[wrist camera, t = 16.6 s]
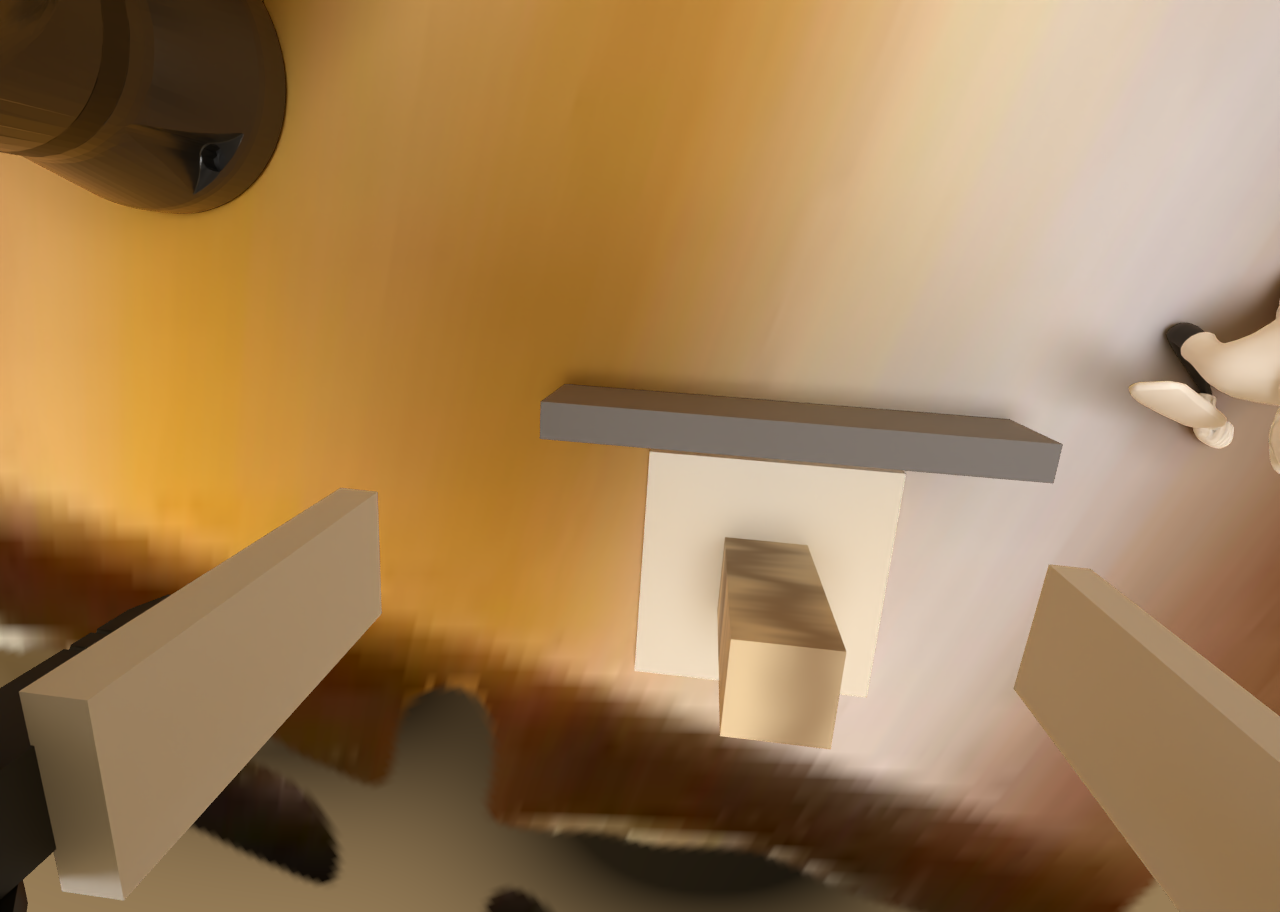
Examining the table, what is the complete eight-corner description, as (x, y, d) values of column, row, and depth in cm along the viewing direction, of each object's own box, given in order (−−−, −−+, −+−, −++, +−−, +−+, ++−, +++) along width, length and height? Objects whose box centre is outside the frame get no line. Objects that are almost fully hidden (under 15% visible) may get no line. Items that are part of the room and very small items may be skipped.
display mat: (636, 662, 45) (634, 670, 44) (651, 447, 41) (649, 451, 40) (863, 688, 44) (866, 697, 43) (901, 469, 40) (906, 473, 39)
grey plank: (563, 416, 41) (539, 438, 35) (565, 383, 40) (540, 401, 35) (1002, 452, 39) (1053, 483, 33) (1009, 419, 38) (1062, 444, 32)
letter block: (717, 613, 42) (719, 739, 31) (724, 536, 41) (730, 639, 29) (796, 621, 42) (830, 753, 30) (807, 545, 40) (846, 651, 29)
